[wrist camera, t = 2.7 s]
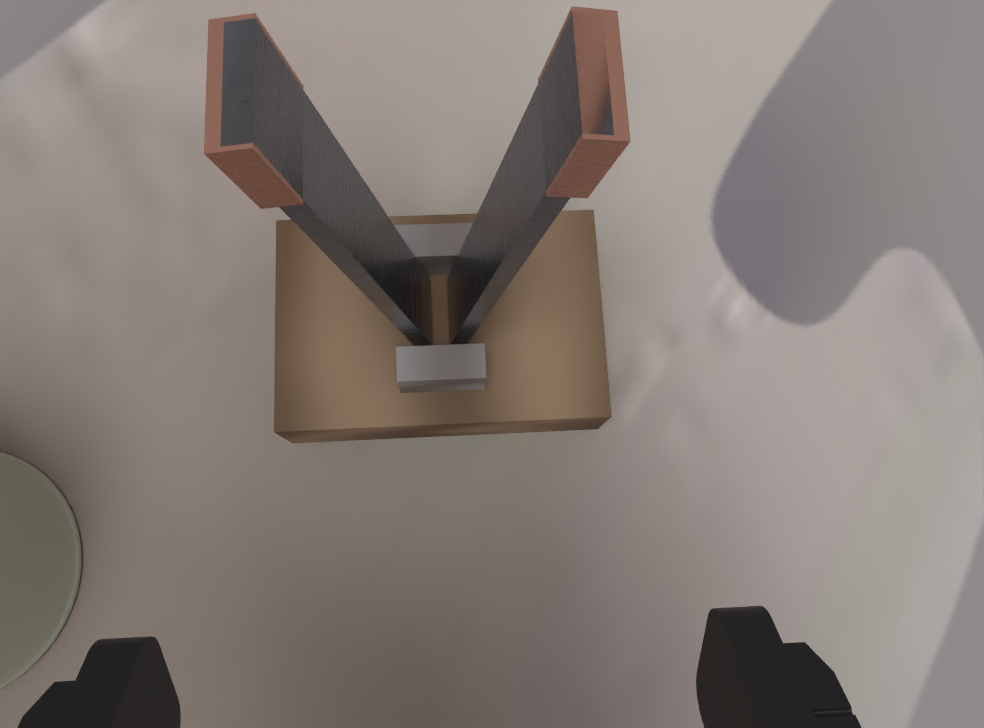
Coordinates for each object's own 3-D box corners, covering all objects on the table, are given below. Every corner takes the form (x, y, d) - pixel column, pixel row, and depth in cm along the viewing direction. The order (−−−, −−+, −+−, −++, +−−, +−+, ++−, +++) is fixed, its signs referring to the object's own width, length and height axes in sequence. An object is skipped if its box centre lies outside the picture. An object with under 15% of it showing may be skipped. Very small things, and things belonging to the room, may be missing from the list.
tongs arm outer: (450, 348, 28) (582, 138, 14) (446, 276, 29) (571, 6, 15) (474, 348, 29) (630, 141, 14) (471, 276, 29) (617, 11, 15)
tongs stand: (292, 443, 31) (260, 423, 26) (292, 249, 33) (263, 197, 28) (597, 428, 32) (622, 406, 27) (581, 239, 33) (602, 186, 29)
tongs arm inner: (407, 350, 29) (203, 153, 14) (405, 279, 29) (208, 19, 15) (432, 348, 28) (253, 148, 14) (430, 277, 29) (255, 13, 15)
